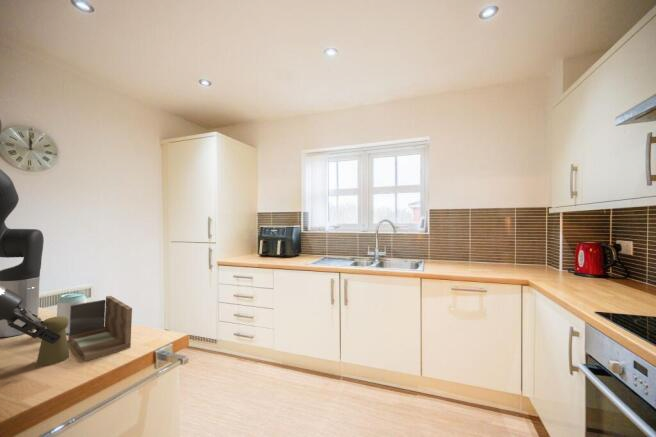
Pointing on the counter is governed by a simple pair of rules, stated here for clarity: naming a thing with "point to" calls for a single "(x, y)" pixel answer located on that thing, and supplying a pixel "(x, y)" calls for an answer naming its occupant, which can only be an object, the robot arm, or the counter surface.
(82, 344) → the shelf
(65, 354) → the cork
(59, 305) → the can
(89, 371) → the counter surface
